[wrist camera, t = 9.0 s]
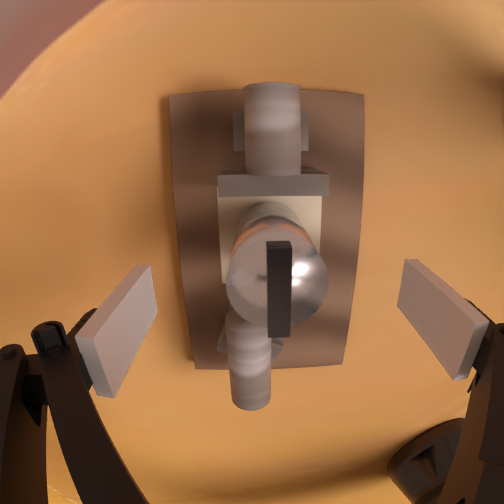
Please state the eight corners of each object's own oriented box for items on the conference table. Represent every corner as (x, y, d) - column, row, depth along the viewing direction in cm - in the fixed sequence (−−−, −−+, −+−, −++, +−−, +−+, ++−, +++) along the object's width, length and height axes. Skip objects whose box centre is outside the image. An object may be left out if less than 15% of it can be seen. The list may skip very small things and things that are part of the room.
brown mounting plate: (339, 357, 27) (355, 403, 21) (197, 361, 27) (186, 410, 21) (358, 96, 19) (394, 83, 13) (172, 96, 19) (144, 82, 13)
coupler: (302, 264, 22) (328, 338, 14) (237, 266, 22) (227, 342, 14) (303, 200, 20) (337, 242, 12) (234, 202, 21) (220, 245, 12)
